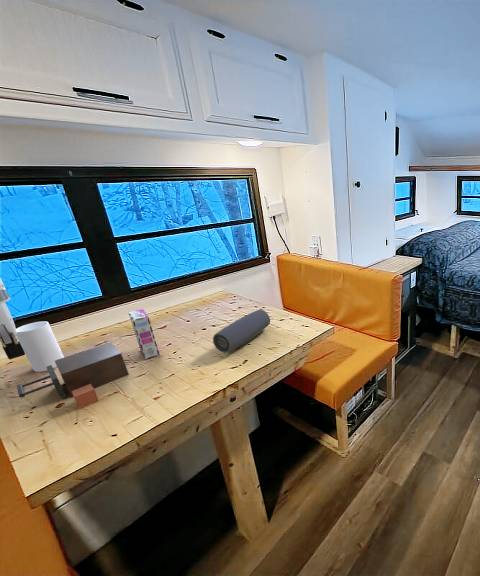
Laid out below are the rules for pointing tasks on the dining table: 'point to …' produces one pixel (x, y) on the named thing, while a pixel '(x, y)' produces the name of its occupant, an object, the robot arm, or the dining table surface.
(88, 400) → the block
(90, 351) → the cabinet
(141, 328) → the candy bar box
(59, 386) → the drawer
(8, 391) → the dining table surface
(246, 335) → the bluetooth speaker
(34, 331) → the cup
